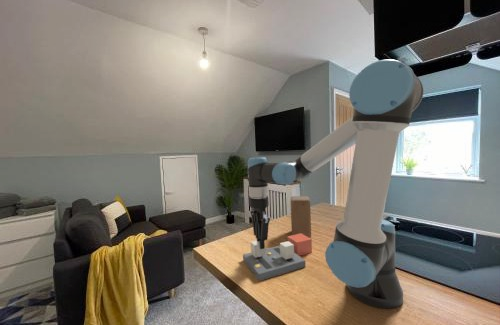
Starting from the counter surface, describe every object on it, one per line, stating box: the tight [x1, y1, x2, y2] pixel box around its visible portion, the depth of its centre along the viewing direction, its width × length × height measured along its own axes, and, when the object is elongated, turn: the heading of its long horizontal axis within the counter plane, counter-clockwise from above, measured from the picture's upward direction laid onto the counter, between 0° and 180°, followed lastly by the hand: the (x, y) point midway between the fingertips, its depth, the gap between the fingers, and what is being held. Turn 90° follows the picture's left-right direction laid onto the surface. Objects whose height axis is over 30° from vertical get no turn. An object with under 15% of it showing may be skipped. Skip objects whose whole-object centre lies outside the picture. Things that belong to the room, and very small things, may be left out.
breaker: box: [279, 240, 294, 259], centre depth 83 cm, size 4×4×5 cm
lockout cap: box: [286, 233, 313, 257], centre depth 94 cm, size 8×8×6 cm
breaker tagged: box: [250, 239, 258, 258], centre depth 86 cm, size 4×4×5 cm
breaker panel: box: [242, 245, 306, 282], centre depth 84 cm, size 16×20×3 cm
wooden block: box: [290, 195, 312, 238], centre depth 112 cm, size 10×10×20 cm
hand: (261, 255), depth 83 cm, fingers closed
